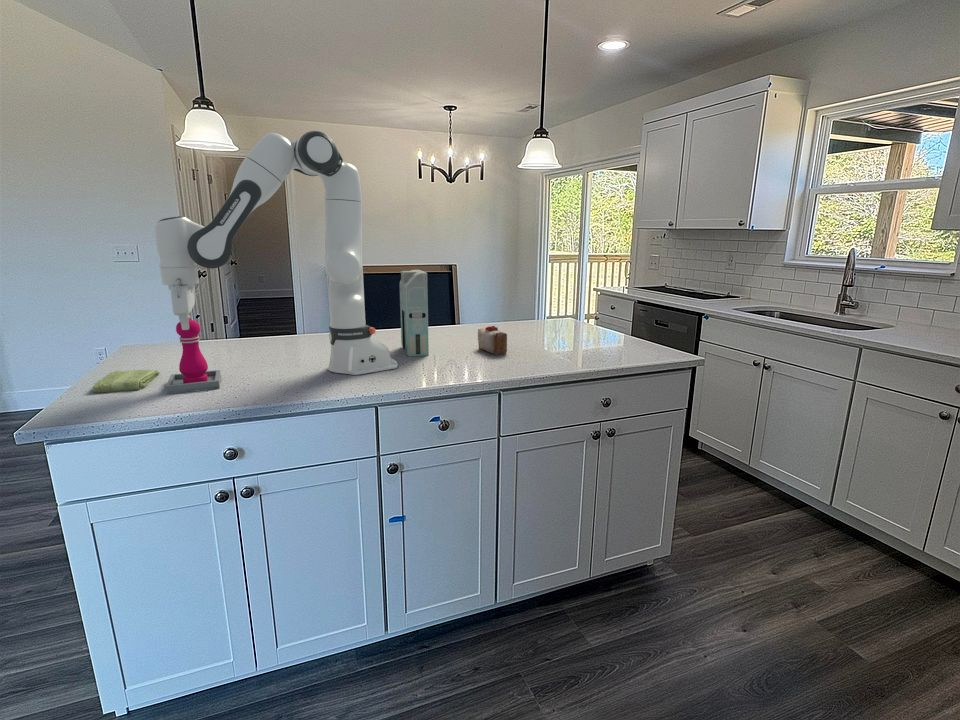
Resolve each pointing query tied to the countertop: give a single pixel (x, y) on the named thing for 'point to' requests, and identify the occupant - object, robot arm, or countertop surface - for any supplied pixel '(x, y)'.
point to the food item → (492, 340)
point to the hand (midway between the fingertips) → (187, 326)
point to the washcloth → (125, 380)
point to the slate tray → (177, 384)
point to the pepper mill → (191, 354)
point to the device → (414, 312)
